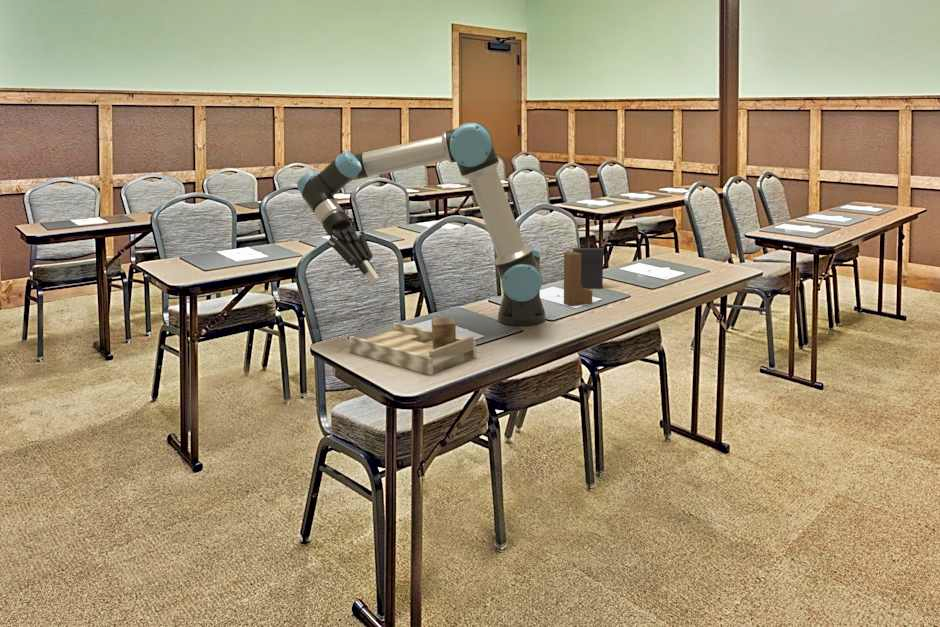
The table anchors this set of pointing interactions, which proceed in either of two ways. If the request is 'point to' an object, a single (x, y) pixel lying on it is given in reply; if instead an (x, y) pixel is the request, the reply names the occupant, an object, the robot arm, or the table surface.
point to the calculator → (591, 267)
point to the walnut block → (443, 332)
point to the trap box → (413, 349)
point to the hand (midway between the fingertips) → (375, 280)
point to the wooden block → (574, 281)
